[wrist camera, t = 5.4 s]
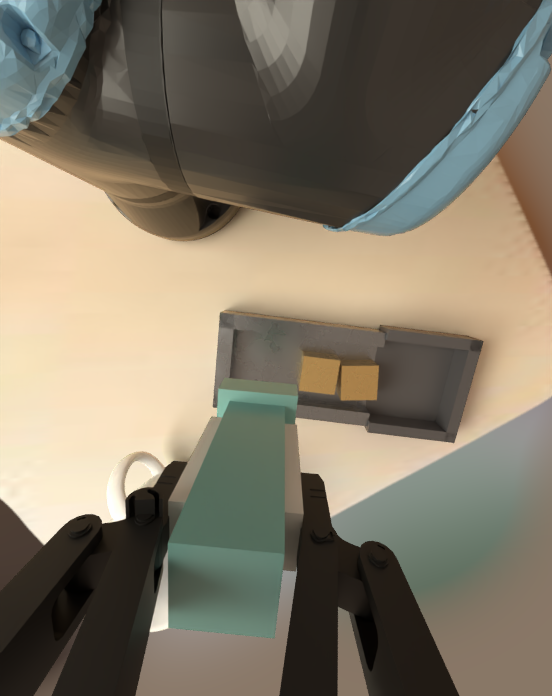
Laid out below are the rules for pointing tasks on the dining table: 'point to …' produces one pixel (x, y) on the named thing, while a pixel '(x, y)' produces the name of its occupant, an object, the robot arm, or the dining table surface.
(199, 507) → the teal t-shaped block
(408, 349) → the tray
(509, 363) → the dining table surface
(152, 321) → the dining table surface
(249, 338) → the dark gray shallow tray
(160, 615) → the mug
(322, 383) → the chip
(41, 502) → the dining table surface
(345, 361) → the chip
